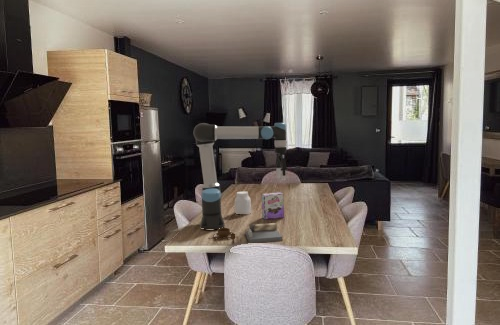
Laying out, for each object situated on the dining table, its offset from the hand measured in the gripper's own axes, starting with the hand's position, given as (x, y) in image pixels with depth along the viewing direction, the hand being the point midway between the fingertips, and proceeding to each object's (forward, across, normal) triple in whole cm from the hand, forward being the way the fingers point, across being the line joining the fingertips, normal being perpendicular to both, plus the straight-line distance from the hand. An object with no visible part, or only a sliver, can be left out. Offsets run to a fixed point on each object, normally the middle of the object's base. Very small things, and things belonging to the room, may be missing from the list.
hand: (281, 179), depth 246 cm
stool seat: (+26, -36, +20) cm, 49 cm away
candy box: (+27, +4, +5) cm, 27 cm away
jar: (+27, +22, +23) cm, 42 cm away
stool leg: (+24, -30, +19) cm, 43 cm away
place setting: (+28, -34, +42) cm, 60 cm away
